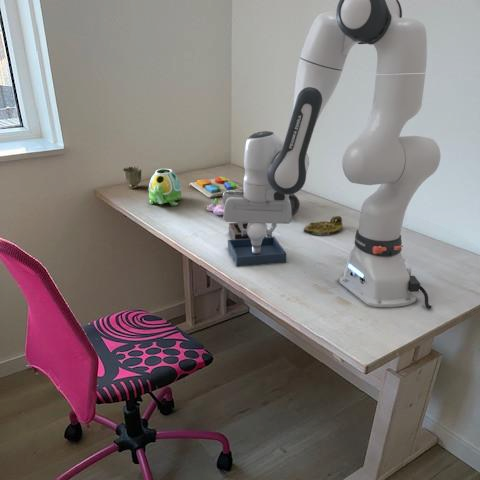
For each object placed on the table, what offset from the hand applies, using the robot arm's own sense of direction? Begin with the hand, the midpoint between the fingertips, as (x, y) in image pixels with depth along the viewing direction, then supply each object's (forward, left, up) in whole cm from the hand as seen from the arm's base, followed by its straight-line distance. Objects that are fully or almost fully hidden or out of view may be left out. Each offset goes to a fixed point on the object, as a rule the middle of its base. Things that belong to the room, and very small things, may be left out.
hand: (256, 235), depth 153 cm
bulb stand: (+13, 0, -6) cm, 14 cm away
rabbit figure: (+37, +5, -7) cm, 38 cm away
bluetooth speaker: (+38, -17, -7) cm, 42 cm away
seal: (+16, -28, -7) cm, 33 cm away
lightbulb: (0, 0, -6) cm, 6 cm away
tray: (0, 0, -6) cm, 6 cm away
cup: (+74, +34, -7) cm, 82 cm away
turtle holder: (+53, +23, -7) cm, 58 cm away
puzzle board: (+66, 0, -7) cm, 66 cm away
